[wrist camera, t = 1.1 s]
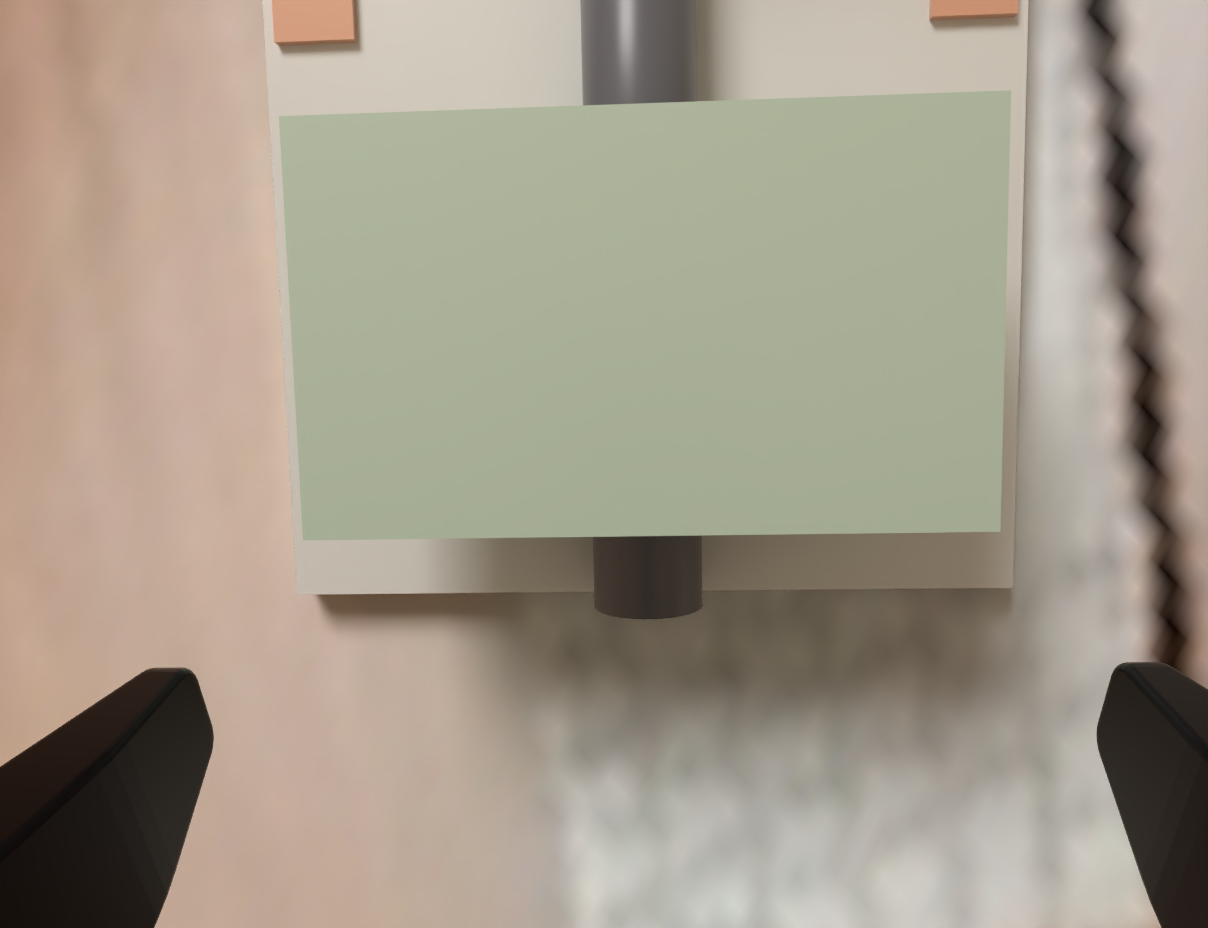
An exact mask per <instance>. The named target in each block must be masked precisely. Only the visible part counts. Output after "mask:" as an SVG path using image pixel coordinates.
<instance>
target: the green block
mask: <svg viewBox="0 0 1208 928" xmlns="http://www.w3.org/2000/svg"><path fill="white" fill-rule="evenodd" d="M1010 116H1011V90H1007V91H979V92H951V93H922V94H894V95H865V96H837V97H809V98H780V99H752V100H723V101H695V102H667V103H638V104H610V105H581V106H553V107H525V108H496V109H468V110H439V111H411V112H383V113H354V114H326V115H298V116H279V128H280V145H281V163H282V180H283V198H284V216H285V233H286V251H287V268H288V286H289V303H290V321H291V338H292V356H293V373H294V391H295V408H296V426H297V444H298V461H299V479H300V496H301V514H302V531H303V540H374V539H455V538H537V537H618V536H700V535H781V534H863V533H944V532H1000V528H1001V487H1002V446H1003V405H1004V363H1005V322H1006V281H1007V240H1008V199H1009V158H1010Z"/></svg>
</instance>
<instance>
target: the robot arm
mask: <svg viewBox="0 0 1208 928" xmlns="http://www.w3.org/2000/svg"><path fill="white" fill-rule="evenodd" d="M213 739H214V736H213V728H212V724H211V721H210V717H209V714H208V711H207V708H206V705H205V702H204V699H203V695H202V692H201V689H200V686H199V683H198V680H197V678H196V675H195V674H194V673H193V672H192V671H191V670H189V669H187V668H151V669H148V670H145V671H144V672H142V673H140V674H139V675H137V676H136V677H134V678H133V679H131V680H130V681H128V682H127V683H125V684H124V685H122V686H121V687H119V688H118V689H116V690H115V691H113V692H112V693H110V694H109V695H107V696H106V697H104V698H103V699H101V700H100V701H98V702H97V703H95V704H94V705H92V706H91V707H89V708H88V709H86V710H85V711H83V712H82V713H80V714H79V715H77V716H76V717H74V718H73V719H71V720H70V721H68V722H67V723H65V724H64V725H62V726H61V727H59V728H58V729H56V730H55V731H53V732H52V733H50V734H49V735H47V736H46V737H44V738H43V739H41V740H40V741H38V742H37V743H35V744H34V745H32V746H31V747H29V748H28V749H26V750H25V751H23V752H22V753H20V754H19V755H17V756H16V757H14V758H13V759H11V760H10V761H8V762H7V763H5V764H4V765H2V766H1V767H0V928H154V927H155V924H156V922H157V920H158V917H159V915H160V912H161V910H162V907H163V905H164V902H165V900H166V897H167V895H168V892H169V889H170V886H171V883H172V880H173V877H174V874H175V871H176V868H177V864H178V861H179V858H180V855H181V851H182V848H183V845H184V842H185V838H186V835H187V832H188V829H189V825H190V822H191V819H192V816H193V812H194V809H195V806H196V803H197V799H198V796H199V793H200V789H201V786H202V783H203V780H204V776H205V773H206V770H207V767H208V763H209V760H210V757H211V753H212V749H213ZM1097 744H1098V750H1099V753H1100V756H1101V759H1102V762H1103V765H1104V768H1105V771H1106V774H1107V777H1108V780H1109V783H1110V786H1111V789H1112V792H1113V795H1114V798H1115V801H1116V804H1117V807H1118V810H1119V813H1120V816H1121V819H1122V822H1123V824H1124V827H1125V830H1126V833H1127V836H1128V839H1129V842H1130V845H1131V848H1132V851H1133V854H1134V857H1135V860H1136V863H1137V866H1138V869H1139V872H1140V875H1141V878H1142V881H1143V883H1144V886H1145V889H1146V891H1147V894H1148V897H1149V900H1150V902H1151V904H1152V907H1153V909H1154V911H1155V914H1156V916H1157V918H1158V921H1159V923H1160V925H1161V928H1208V689H1206V688H1205V687H1203V686H1201V685H1200V684H1198V683H1197V682H1195V681H1193V680H1192V679H1190V678H1189V677H1187V676H1185V675H1184V674H1182V673H1181V672H1179V671H1177V670H1176V669H1174V668H1173V667H1171V666H1169V665H1167V664H1164V663H1158V662H1126V663H1122V664H1120V665H1118V666H1117V667H1116V668H1115V669H1114V671H1113V673H1112V676H1111V679H1110V682H1109V686H1108V689H1107V693H1106V696H1105V700H1104V704H1103V707H1102V711H1101V714H1100V718H1099V721H1098V726H1097Z"/></svg>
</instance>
